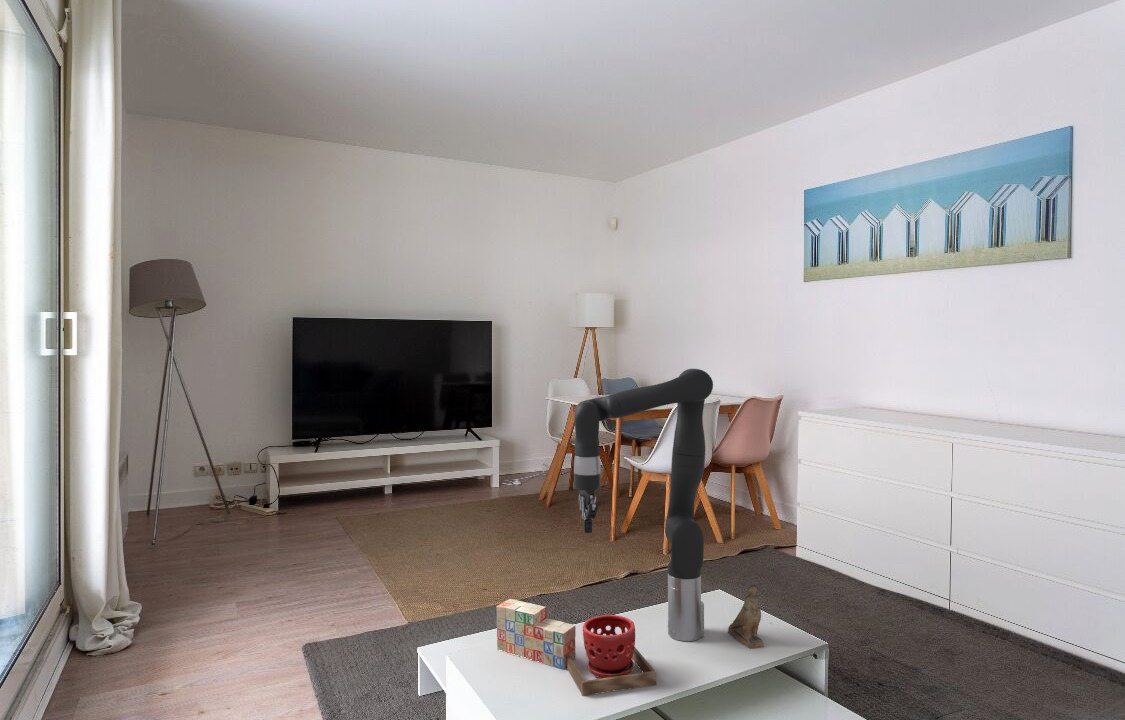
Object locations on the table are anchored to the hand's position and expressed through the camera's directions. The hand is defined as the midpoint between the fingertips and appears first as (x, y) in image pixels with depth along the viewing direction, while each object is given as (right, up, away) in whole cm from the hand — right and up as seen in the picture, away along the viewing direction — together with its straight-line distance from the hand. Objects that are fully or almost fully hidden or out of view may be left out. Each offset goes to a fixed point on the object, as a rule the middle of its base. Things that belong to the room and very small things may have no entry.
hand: (587, 532), depth 187 cm
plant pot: (+5, -30, -22) cm, 37 cm away
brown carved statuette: (+44, -29, -4) cm, 53 cm away
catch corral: (+5, -29, -24) cm, 38 cm away
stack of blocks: (-14, -30, -12) cm, 35 cm away
